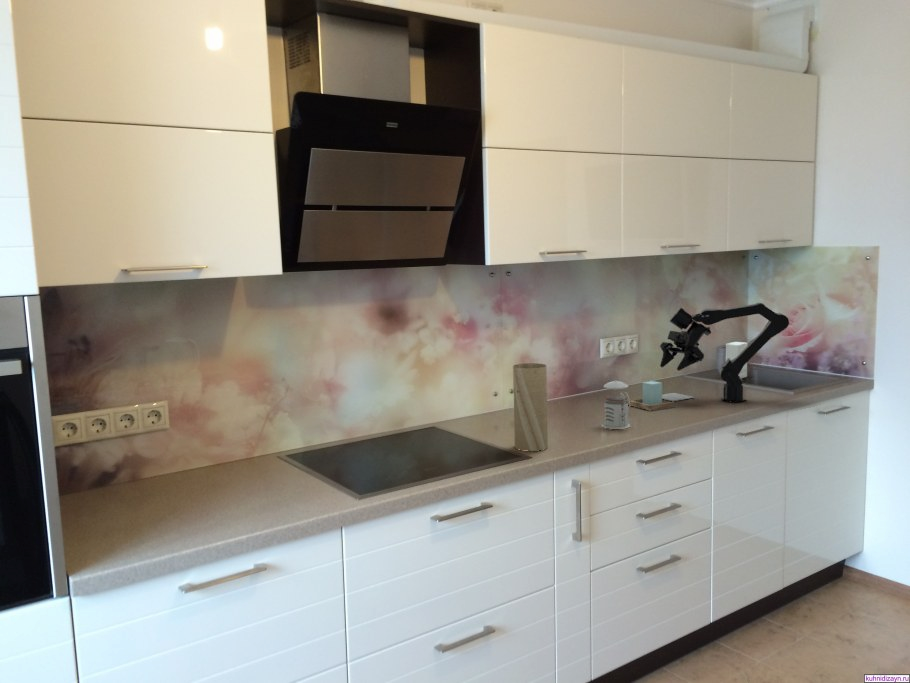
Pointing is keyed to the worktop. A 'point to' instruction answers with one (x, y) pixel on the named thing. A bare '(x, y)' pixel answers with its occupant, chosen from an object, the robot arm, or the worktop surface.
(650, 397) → the grey-teal block
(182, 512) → the worktop surface
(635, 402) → the walnut holder
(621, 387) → the french press
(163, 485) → the worktop surface
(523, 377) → the tube
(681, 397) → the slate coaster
